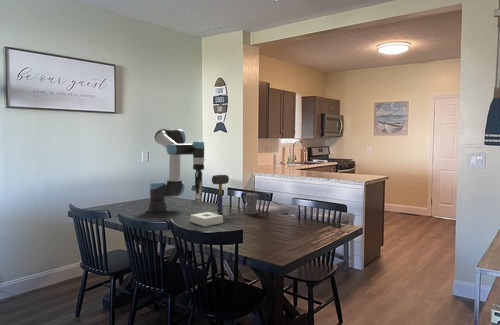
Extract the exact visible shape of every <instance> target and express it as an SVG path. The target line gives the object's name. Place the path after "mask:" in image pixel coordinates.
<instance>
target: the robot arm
mask: <svg viewBox="0 0 500 325" xmlns="http://www.w3.org/2000/svg"><path fill="white" fill-rule="evenodd" d="M154 140H155V142H156V143H157V144H158V145H162V146H163V147H164V148H165V150H166V154H168V155H169V159H168V160H169V165H168V166H169V169H168V170H169V172H168V173H169V174H168V177H169V178H167V180H156V181H152V182H151V183H150V184H149V203H148V206H147V212H148V213H154V214H155V213H156V214H157V213H165V212H166V213H167V212H168V206H167V202H166V198H172V197H176V198H177V197H180V196H181V197H182V195H183V194H184V192H185V183H184V182H183V181H182V180H183V179H181V157H182V156H181V155H184V156H185V155H186V156H187V155H190V156H191V155H192V163H193V165H192V170H195V172H194V189H195V191H196V198H200V189H199V187H200V181H201V189H202V188H203V172H202V171H203V170H205V164H204V163H205V160H206V159H205V142H204V141H203V140H202V141H200V140H199V141H198V140H195V141H193V143H186V134H185V131H184V130H183V129H180V128H161V129H159V130H157V131H156V132H155V134H154Z"/></svg>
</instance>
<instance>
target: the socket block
mask: <svg viewBox="0 0 500 325" xmlns="http://www.w3.org/2000/svg"><path fill="white" fill-rule="evenodd" d="M189 219H190V223H193V224H195V225H198V224H199V225H198V226H202V227H208V226H214V225H218V224H223V223H224V215H221V214H220V213H218V214H217V213H213V212H211V211H207V212H201V213H200V212H199V213H195V214H190V218H189Z"/></svg>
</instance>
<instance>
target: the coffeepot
mask: <svg viewBox="0 0 500 325" xmlns="http://www.w3.org/2000/svg"><path fill="white" fill-rule="evenodd" d="M240 196H241V200H242V203H243V204H246V209H245V214H246V215H256V214H257V206H256V203H257V200H258V198H259V197H260V195H259V194H258V193H255V192H253V190H250V192H248V193H247V192H242V193H241V195H240ZM244 196H245V198H244ZM245 199H246V200H245ZM245 201H246V202H245Z"/></svg>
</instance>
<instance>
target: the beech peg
mask: <svg viewBox="0 0 500 325" xmlns="http://www.w3.org/2000/svg"><path fill="white" fill-rule="evenodd" d="M199 189H200V198H196V190H195V194H194V195H195V196H194V197H195V202H196V203H201V201H202V195H203V193H202V188H201V181H200V187H199Z"/></svg>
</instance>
